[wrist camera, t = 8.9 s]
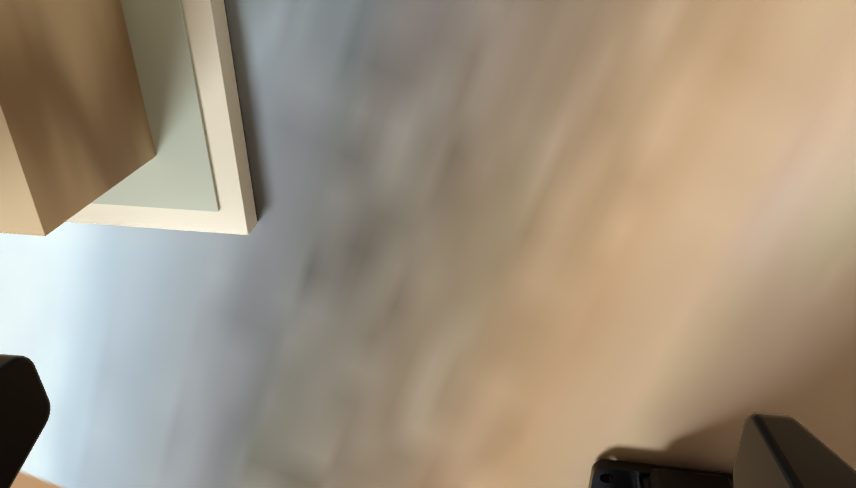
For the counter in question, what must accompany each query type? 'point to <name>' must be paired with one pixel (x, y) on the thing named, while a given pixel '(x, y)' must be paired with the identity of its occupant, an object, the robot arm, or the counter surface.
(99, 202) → the tile
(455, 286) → the counter surface
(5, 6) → the cube
